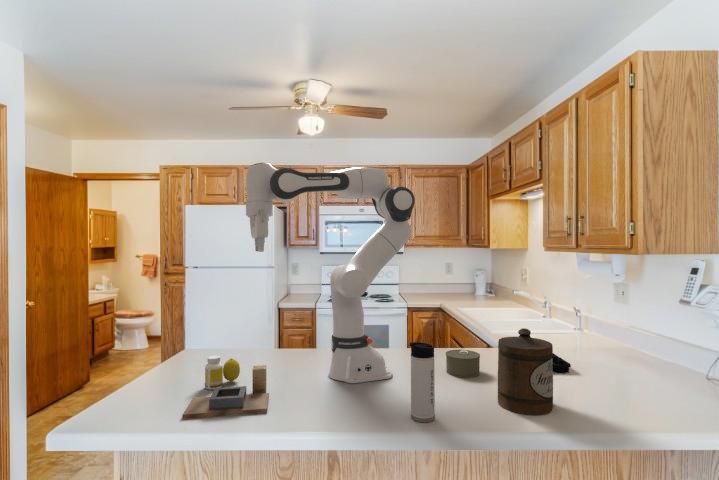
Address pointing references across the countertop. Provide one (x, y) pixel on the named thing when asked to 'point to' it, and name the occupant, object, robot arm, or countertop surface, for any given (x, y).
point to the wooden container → (525, 374)
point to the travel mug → (422, 382)
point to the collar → (227, 398)
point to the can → (463, 363)
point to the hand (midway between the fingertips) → (259, 251)
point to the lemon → (231, 370)
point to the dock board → (251, 406)
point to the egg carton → (560, 365)
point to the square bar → (259, 379)
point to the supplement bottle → (213, 373)
